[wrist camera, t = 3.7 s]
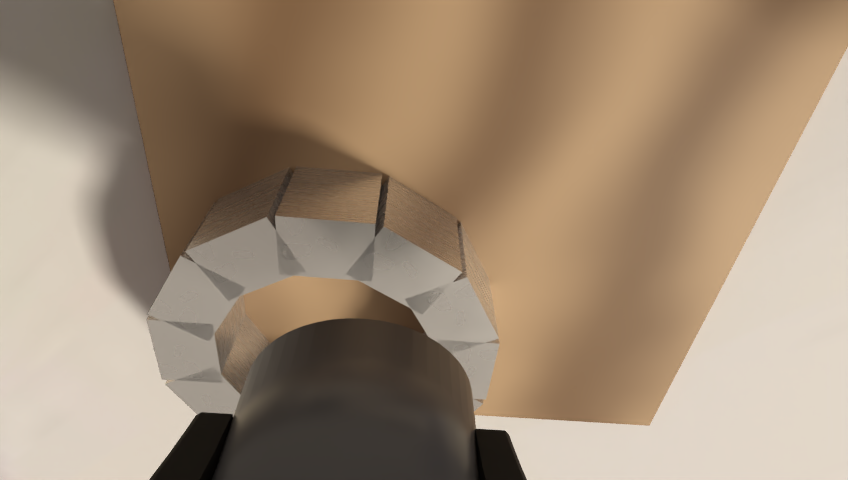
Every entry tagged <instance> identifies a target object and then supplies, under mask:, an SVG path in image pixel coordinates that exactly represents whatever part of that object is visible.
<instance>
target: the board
mask: <svg viewBox="0 0 848 480" xmlns="http://www.w3.org/2000/svg"><path fill="white" fill-rule="evenodd" d="M113 2H114V6H115V11H116V16H117V21H118V25H119V30H120V35H121V39H122V44H123V49H124V54H125V58H126V63H127V68H128V73H129V77H130V82H131V87H132V92H133V96H134V101H135V106H136V110H137V115H138V120H139V125H140V129H141V134H142V139H143V144H144V148H145V153H146V158H147V163H148V167H149V172H150V177H151V182H152V186H153V191H154V196H155V200H156V205H157V210H158V215H159V219H160V224H161V229H162V234H163V238H164V243H165V248H166V253H167V257H168V262H169V267H170V271H172V269H173V267H174V266H175V264H176V262H177V260H178V259H179V257H180V255H181V254H182V252H183V250H184V249H185V247H186V246H187V244H188V243H189V241H190V240H191V238H192V236H193V235H194V233H195V232H196V230H197V229H198V227H199V226H200V224H201V222H202V221H203V219H204V218H205V216H206V215H207V213H208V212H209V210H210V208H211V207H212V205H213V204H214V202H215V203H216V202H217V201H218V199H219V198H221V197H223V196H225V195H228V194H230V193H232V192H234V191H237V190H239V189H241V188H244V187H246V186H248V185H250V184H253V183H255V182H257V181H259V180H262V179H264V178H266V177H268V176H271V175H273V174H275V173H278V172H280V171H282V170H284V169H287V168H290V169H291V171H292V172H293V173H294V171H295V169H296V167H297V166H301V167H312V168H324V169H336V170H347V171H359V172H371V173H382V185H383V184H384V182H385V181H386V180H387V178H388V177H389V176H391V177H392V178H394V179H395V180H397V181H399V182H400V183H402V184H403V185H405V186H407V187H408V188H410V189H411V190H413V191H415V192H416V193H418V194H419V195H421V196H423V197H424V198H426V199H427V200H429V201H431V202H432V203H434V204H435V205H437V206H439V207H440V208H442V209H444V210H445V211H447V212H448V213H450V214H452V215H453V216H455V217H456V218H457V224H458V223H460V222H461V223H462V225H463V227H464V229H465V232H466V234H467V236H468V238H469V240H470V242H471V244H472V246H473V248H474V250H475V252H476V254H477V256H478V258H479V260H480V262H481V264H482V266H483V268H484V270H485V272H486V274H487V276H488V278H489V282H490V288H491V294H492V300H493V306H494V312H495V318H496V324H497V330H498V336H499V343H500V344H499V348H498V352H497V356H496V361H495V365H494V369H493V373H492V377H491V381H490V385H489V389H488V393H487V397H486V400H485V399H483V404H482V405H481V406H480V407H479V408H478V409H476V410H475V411H474V415H485V416H501V417H518V418H534V419H551V420H567V421H583V422H600V423H616V424H633V425H650V423H651V421H652V419H653V417H654V416H655V414H656V412H657V410H658V408H659V406H660V404H661V402H662V400H663V398H664V396H665V395H666V393H667V391H668V389H669V387H670V385H671V383H672V381H673V379H674V377H675V375H676V374H677V372H678V370H679V368H680V366H681V364H682V362H683V360H684V358H685V356H686V354H687V353H688V351H689V349H690V347H691V345H692V343H693V341H694V339H695V337H696V335H697V333H698V331H699V330H700V328H701V326H702V324H703V322H704V320H705V318H706V316H707V314H708V312H709V310H710V309H711V307H712V305H713V303H714V301H715V299H716V297H717V295H718V293H719V291H720V289H721V288H722V286H723V284H724V282H725V280H726V278H727V276H728V274H729V272H730V270H731V268H732V267H733V265H734V263H735V261H736V259H737V257H738V255H739V253H740V251H741V249H742V247H743V246H744V244H745V242H746V240H747V238H748V236H749V234H750V232H751V230H752V228H753V226H754V224H755V223H756V221H757V219H758V217H759V215H760V213H761V211H762V209H763V207H764V205H765V203H766V202H767V200H768V198H769V196H770V194H771V192H772V190H773V188H774V186H775V184H776V182H777V181H778V179H779V177H780V175H781V173H782V171H783V169H784V167H785V165H786V163H787V161H788V160H789V158H790V156H791V154H792V152H793V150H794V148H795V146H796V144H797V142H798V140H799V139H800V137H801V135H802V133H803V131H804V129H805V127H806V125H807V123H808V121H809V119H810V118H811V116H812V114H813V112H814V110H815V108H816V106H817V104H818V102H819V100H820V98H821V96H822V95H823V93H824V91H825V89H826V87H827V85H828V83H829V81H830V79H831V77H832V75H833V74H834V72H835V70H836V68H837V66H838V64H839V62H840V60H841V58H842V56H843V54H844V53H845V51H846V49H847V47H848V0H113ZM243 296H244V304H245V312H246V315H247V316H248V317H249V319H250V320H251V321H252V322H253V323H254V324H255V326H256V327H257V328H258V329H259V330H260V331H261V333H262V334H263V335H264V336H265V337H266V338H267V340H268V341H269V342H270V343H272V342H273V341H274V340H275V339H277V338H279V337H280V336H282V335H284V334H286V333H287V332H290V331H292V330H294V329H297V328H299V327H302V326H305V325H308V324H312V323H315V322H320V321H326V320H332V319H345V318H359V319H372V320H380V321H385V322H390V323H394V324H398V325H401V326H404V327H407V328H410V329H413V330H415V331H417V332H420V333H422V334H423V333H424V331H425V330H424V329H423V327H422V326H421V324H420V322H419V321H418V319H417V318H416V316H415V314H414V313H413V311H412V310H411V308H409V307H407V306H405V305H403V304H401V303H399V302H398V301H396V300H394V299H392V298H390V297H388V296H386V295H384V294H383V293H381V292H379V291H377V290H375V289H373V288H371V287H369V286H368V285H366V284H364V283H362V282H360V281H358V280H345V279H332V278H318V277H305V276H291V277H289V278H286V279H283V280H281V281H278V282H276V283H273V284H270V285H268V286H265V287H263V288H260V289H257V290H255V291H252V292H250V293H247V294H244V295H243Z"/></svg>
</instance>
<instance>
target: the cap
mask: <svg viewBox="0 0 848 480" xmlns="http://www.w3.org/2000/svg"><path fill="white" fill-rule="evenodd" d="M475 429H476V425H475V416H474V406H473V397H472V389H471V385H470V381H469V378H468V376H467V374H466V372H465V370H464V368H463V367H462V366H461V364H460V363H459V361H458V360H457V359H456V358H455V357H454V356H453V355H452V354H451V353H450V352H449V351H448V350H447V349H446V348H444V347H443V346H442V345H441V344H439V343H438V342H436V341H435V340H433V339H431V338H430V337H428V336H426V335H424V334H422V333H420V332H417V331H415V330H413V329H410V328H407V327H404V326H401V325H398V324H394V323H390V322H385V321H380V320H372V319H359V318H345V319H332V320H326V321H320V322H315V323H312V324H308V325H305V326H302V327H299V328H297V329H294V330H292V331H290V332H287V333H286V334H284V335H282V336H280V337H279V338H277V339H275V340H274V341H273V342H272V343H270V344H269V345H268V346H267V347H265V348H264V350H263V351H262V352H261V353H260V354H259V355H258V356H257V358H256V359H255V361H254V362H253V364H252V365H251V368H250V370H249V373H248V375H247V378H246V381H245V384H244V387H243V390H242V393H241V396H240V398H239V401H238V404H237V407H236V410H235V413H234V416H233V420H232V423H231V426H230V429H229V431H228V434H227V437H226V440H225V443H224V446H223V449H222V452H221V455H220V458H219V460H218V463H217V466H216V469H215V472H214V475H213V477H212V480H480V477H479V467H478V457H477V448H476V438H475Z"/></svg>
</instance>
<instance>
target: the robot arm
mask: <svg viewBox="0 0 848 480" xmlns="http://www.w3.org/2000/svg"><path fill="white" fill-rule="evenodd" d="M232 420H233V414H224V413H207V412H201V413H199V414H198V415H196V416H195V418H194V419H193V421H192V422H191V424H190V425H189V426H188V428H187V429H186V431H185V432H184V434H183V435H182V436H181V438H180V439H179V441H178V442H177V443H176V445H175V446H174V448H173V449H172V450H171V452H170V453H169V454H168V456H167V457H166V458H165V460H164V461H163V462H162V464H161V465H160V466H159V468H158V469H157V470H156V472H155V473H154V474H153V476H152V477H151V478H150V480H212V477H213V475H214V472H215V469H216V466H217V463H218V460H219V458H220V455H221V452H222V449H223V446H224V443H225V440H226V437H227V434H228V431H229V429H230V426H231V423H232ZM475 438H476V448H477V457H478V467H479V477H480V480H527V479H526V477H525V475H524V472H523V470H522V468H521V465H520V463H519V460H518V458H517V455H516V453H515V450H514V447H513V445H512V442H511V439H510V436H509V434H508V433H507V432H506V431H502V430H486V429H475Z"/></svg>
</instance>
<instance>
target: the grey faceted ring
mask: <svg viewBox="0 0 848 480" xmlns="http://www.w3.org/2000/svg"><path fill="white" fill-rule="evenodd" d="M291 276H305V277H318V278H332V279H345V280H358V281H360V282H362V283H364V284H366V285H368V286H369V287H371V288H373V289H375V290H377V291H379V292H381V293H383V294H384V295H386V296H388V297H390V298H392V299H394V300H396V301H398V302H399V303H401V304H403V305H405V306H407V307H409V308H411V310H412V311H413V313H414V314H415V316H416V318H417V319H418V321H419V322H420V324H421V326H422V327H423V329H424V330H425V331H424V333H423V334H424V335H426V336H428V337H430V338H431V339H433V340H435V341H436V342H438V343H439V344H441V345H442V346H443V347H444V348H446V349H447V350H448V351H449V352H450V353H451V354H452V355H453V356H454V357H455V358H456V359H457V360H458V361H459V363H460V364H461V366H462V367H463V368H464V370H465V372H466V374H467V376H468V378H469V381H470V385H471V389H472V397H473V406H474V411H475V410H476V409H478V408H479V407H480V406H481V405H482V404H483V399H485V400H486V397H487V393H488V389H489V385H490V381H491V377H492V373H493V369H494V365H495V361H496V356H497V352H498V348H499V344H500V343H499V336H498V330H497V324H496V318H495V312H494V306H493V300H492V294H491V288H490V282H489V278H488V276H487V274H486V272H485V270H484V268H483V266H482V264H481V262H480V260H479V258H478V256H477V254H476V252H475V250H474V248H473V246H472V244H471V242H470V240H469V238H468V236H467V234H466V232H465V229H464V227H463V225H462V223H461V222H460V223H458V224H457V218H456V217H455V216H453V215H452V214H450V213H448V212H447V211H445V210H444V209H442V208H440V207H439V206H437V205H435V204H434V203H432V202H431V201H429V200H427V199H426V198H424V197H423V196H421V195H419V194H418V193H416V192H415V191H413V190H411V189H410V188H408V187H407V186H405V185H403V184H402V183H400V182H399V181H397V180H395V179H394V178H392V177H391V176H389V177H388V178H387V180H386V181H385V182H384V184H383V185H382V173H371V172H359V171H347V170H336V169H324V168H312V167H301V166H297V167H296V169H295V171H294V173H293V172H292V171H291V169H290V168H287V169H284V170H282V171H280V172H278V173H275V174H273V175H271V176H268V177H266V178H264V179H262V180H259V181H257V182H255V183H253V184H250V185H248V186H246V187H244V188H241V189H239V190H237V191H234V192H232V193H230V194H228V195H225V196H223V197H221V198H219V199H218V201H217V202H216V203H215V202H214V204H213V205H212V207H211V208H210V210H209V212H208V213H207V215H206V216H205V218H204V219H203V221H202V222H201V224H200V226H199V227H198V229H197V230H196V232H195V233H194V235H193V236H192V238H191V240H190V241H189V243H188V244H187V246H186V247H185V249H184V250H183V252H182V254H181V255H180V257H179V259H178V260H177V262H176V264H175V266H174V267H173V269H172V271H171V273H170V275H169V276H168V278H167V280H166V282H165V283H164V285H163V287H162V289H161V290H160V292H159V294H158V296H157V298H156V299H155V301H154V303H153V305H152V306H151V308H150V310H149V312H148V313H147V314H148V315H149V316H148V318H147V324H148V327H149V331H150V335H151V339H152V343H153V347H154V351H155V354H156V358H157V362H158V366H159V370H160V374H161V378H162V379H165V380H167V381H166V383H165V385H167V386H168V387H169V388H170V389H171V390H172V391H173V392H174V393H175V394H176V395H177V396H178V397H179V398H180V399H182V400H183V401H184V402H185V403H186V404H187V405H188V406H189V407H190V408H191V409H192V410H193V411H194V412H196V413H197V414H199V413H201V412H207V413H224V414H233V416H234V413H235V410H236V407H237V404H238V401H239V398H240V396H241V393H242V390H243V387H244V384H245V381H246V378H247V375H248V373H249V370H250V368H251V365H252V364H253V362H254V361H255V359H256V358H257V356H258V355H259V354H260V353H261V352H262V351H263V350H264V348H265V347H267V346H268V345H269V344H270V342H269V341H268V340H267V338H266V337H265V336H264V335H263V334H262V333H261V331H260V330H259V329H258V328H257V327H256V326H255V324H254V323H253V322H252V321H251V320H250V319H249V317H248V316H247V315H246V312H245V304H244V296H243V295H244V294H247V293H250V292H252V291H255V290H257V289H260V288H263V287H265V286H268V285H270V284H273V283H276V282H278V281H281V280H283V279H286V278H289V277H291Z"/></svg>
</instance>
